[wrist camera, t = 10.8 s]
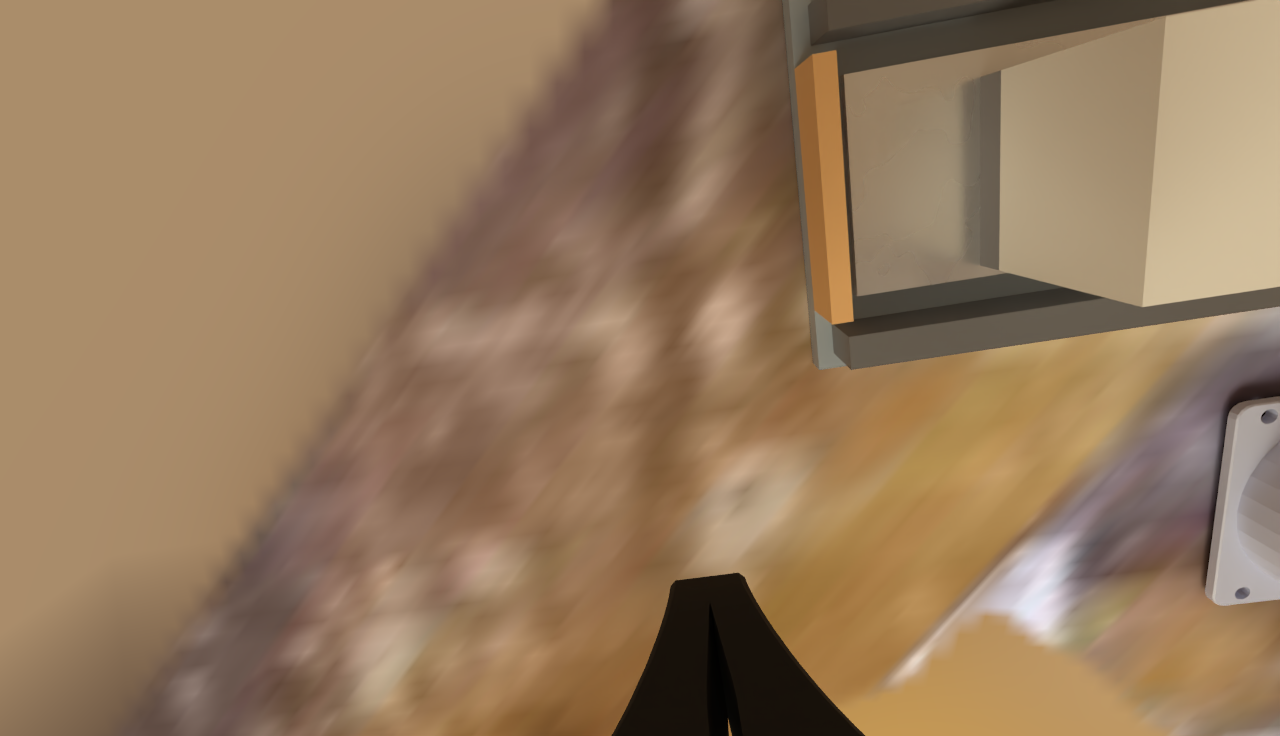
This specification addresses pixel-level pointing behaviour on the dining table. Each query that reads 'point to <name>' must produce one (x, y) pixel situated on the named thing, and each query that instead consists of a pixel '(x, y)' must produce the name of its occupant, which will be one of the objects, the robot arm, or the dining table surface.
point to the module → (1140, 160)
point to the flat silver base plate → (924, 162)
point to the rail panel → (840, 321)
